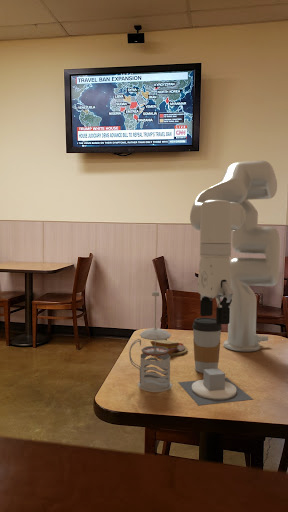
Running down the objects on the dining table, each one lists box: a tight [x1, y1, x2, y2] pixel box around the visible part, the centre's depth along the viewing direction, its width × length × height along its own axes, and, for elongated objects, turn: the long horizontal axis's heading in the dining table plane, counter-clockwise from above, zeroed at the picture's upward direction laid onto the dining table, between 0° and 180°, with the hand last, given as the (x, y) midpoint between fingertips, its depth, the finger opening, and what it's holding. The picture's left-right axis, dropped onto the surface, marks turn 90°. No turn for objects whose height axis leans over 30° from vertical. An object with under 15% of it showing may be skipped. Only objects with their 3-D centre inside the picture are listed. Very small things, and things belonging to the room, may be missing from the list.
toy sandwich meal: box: [149, 339, 189, 357], centre depth 130 cm, size 12×14×5 cm
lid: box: [192, 367, 236, 400], centre depth 96 cm, size 11×11×5 cm
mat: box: [178, 377, 254, 406], centre depth 96 cm, size 14×14×1 cm
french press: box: [128, 290, 173, 393], centre depth 99 cm, size 10×12×25 cm
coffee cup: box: [192, 317, 222, 374], centre depth 110 cm, size 8×8×15 cm
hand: (214, 319), depth 95 cm, fingers open, 9 cm apart
